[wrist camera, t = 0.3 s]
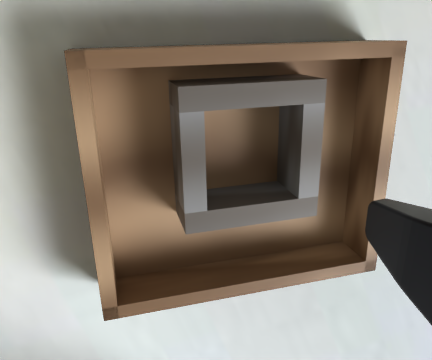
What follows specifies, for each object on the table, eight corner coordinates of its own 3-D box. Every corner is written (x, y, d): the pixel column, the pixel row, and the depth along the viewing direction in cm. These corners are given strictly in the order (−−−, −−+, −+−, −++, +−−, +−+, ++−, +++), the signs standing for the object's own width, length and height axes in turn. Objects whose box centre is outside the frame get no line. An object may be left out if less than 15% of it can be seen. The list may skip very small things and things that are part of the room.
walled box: (345, 244, 29) (378, 272, 25) (103, 284, 25) (103, 324, 21) (366, 40, 24) (411, 40, 20) (70, 48, 20) (63, 51, 16)
